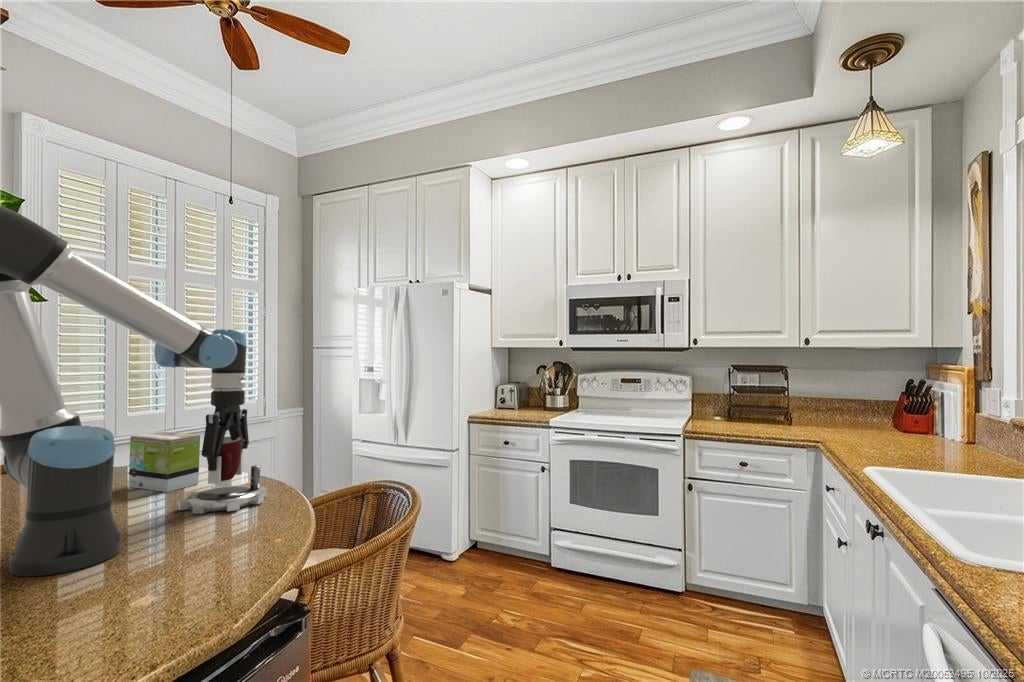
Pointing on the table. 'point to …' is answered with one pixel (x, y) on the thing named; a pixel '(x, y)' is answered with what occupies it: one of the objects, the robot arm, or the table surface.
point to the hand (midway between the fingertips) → (225, 478)
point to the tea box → (164, 461)
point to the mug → (230, 457)
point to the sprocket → (226, 496)
